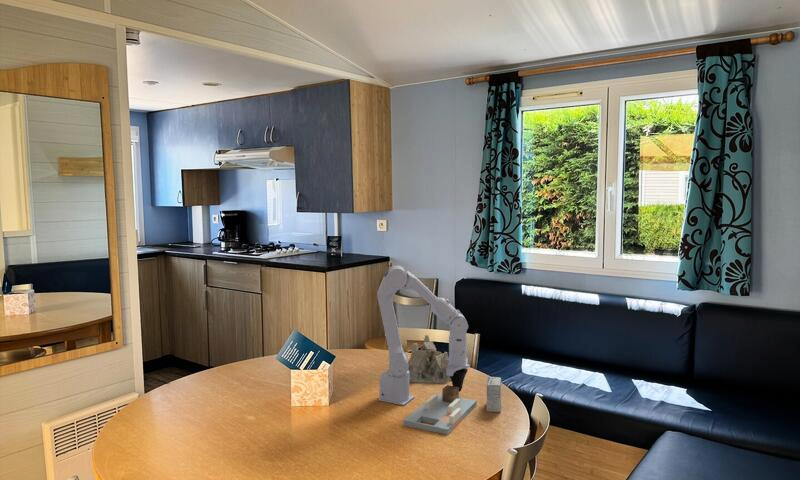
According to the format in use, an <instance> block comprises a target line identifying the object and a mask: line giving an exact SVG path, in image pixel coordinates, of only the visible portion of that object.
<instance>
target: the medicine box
mask: <svg viewBox="0 0 800 480" xmlns="http://www.w3.org/2000/svg"><path fill="white" fill-rule="evenodd" d="M486 382H487V383H486V412H490V413H491V412H492V413H501V412H502V377H499V376H498V377H497V376H488V377H487V381H486Z"/></svg>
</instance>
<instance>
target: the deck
mask: <svg viewBox="0 0 800 480" xmlns="http://www.w3.org/2000/svg"><path fill="white" fill-rule="evenodd" d="M477 401H478V400H476V399H471V398H464V397H460V396H459V399H455V400H454V401H453V402H452V403H449V402H444V401H442V393H438V392H436V393H435V394H433V395H432V396H431V397H429V398H428V399H426V400H425V401H424V403H423V404H421V406H419V407H418V408H417V409H416V410H414V411H413V412H412V413H410V414H409V415H408V416H406V417H405V418H404V419H403V426H404V427H409V428H414V429H419V430H423V431H426V432H427V431H428V432H433V433H438V434H442V435H446V436H447V435H449V434H450V433H452V431H453V430H454V429H455V428H456V427H457V426H458V425H459V424H460V423H461V422H462V421H463V420H464V419H465V418H466V417H467V416H468V414H470V413H471V412H472V411H473V409H475V407H476V406H478V405H477ZM422 422H423V423H422ZM432 424H433V425H432Z"/></svg>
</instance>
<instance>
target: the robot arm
mask: <svg viewBox="0 0 800 480" xmlns="http://www.w3.org/2000/svg"><path fill="white" fill-rule="evenodd" d="M403 287H404V289H406V290H412V291H414V292H415V293H416V294H418V295H419V296H420V297H421V298H422V299H423V300H424V301H426V302H427V303H428V304H429V305H430V311H431V312H432V314H434V315H435V316H436V317H438V318H439V319H440V320H441V321H442V322H443V323H444V324H447V326H448V327H449V335H448V358H449V363H448V369H447V370H446V375H447V376H450V378H451V384H452V385H451V386H455V387H459V393H460V392H462V388H463V384H464V381H465V377H466V376H467V375H466V374H467V373H468V372H469V371H468V370H469V368H470V367H471V364H469V357H467V348H468V347H467V346H468V345H467V343H468V342H467V339H468V338H467V331H468V329H469V324H468V321H467V319H466V318H465V316H464V315H463V313H462V312H461V311H460V310H459V309H456V308H455V307H454V306H453V305H452V304H451V303H450V300H449V299H448V298H444V297H438V296H436V295H435V294H434V292H432V291H431V290H430V289H429V288H428V287H427V286H426V285H425V284H424V283H423V282H422V281H421V280H420V279H419V278H418V277H417V276H416V275H414V274H413V273H411V272H410V271H409V270H406V269H405V267H403V265H400V264H393V265H392V266H390V267H389V268H388V269H387V270H386V272H384V275H383V277H382V280H381V282H380V285H379V288H378V289H377V292H376V293H377V294H376V295H377V301H378V306H379V311H380V315H381V320H382V326H383V330H384V336H385V339H386V343H387V348H388V349H387V351H388V370H385V371H382V373H381V374H380V378H379V398H378V401H380V402H385V403H389V404H395V405H400V406H405V405H406V404H408V403H409V402H410V401H412V400H413V399H414V398H415V396H414V395H412V394H411V395H410V381H409V371H408V368H409V365H408V355H407V353H406V352H405V351H404V348H403V345H402V344H403V343H402V341H401V336H400V332H399V327H398V320H397V316H396V312H395V308H394V302H393V297H394V296H395V294H396V293H397V292H398V291H399V290H400V289H402V288H403Z"/></svg>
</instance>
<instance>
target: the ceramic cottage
mask: <svg viewBox="0 0 800 480" xmlns="http://www.w3.org/2000/svg"><path fill="white" fill-rule="evenodd" d="M411 348H412V349H411V352H410V353H411V354H410V357H409V360H407V362H408V365H409V368H408V371H409V382H412V383H416V384H417V383H422V384H423V383H424V384H425V383H427V384H431V383H432V384H446V383H449V382H450V381H451V378H450V376H447V375H446V370H447V369H448V363H449V354H448V352H447V351H444V353H442V352H441V351H437V348H436V345H435V344H434V342H433V340H430V337H429V335H428V334H425V335H424V338H423V342H422V345H421V347H420V350H419V345H418V343H417V342H416V343H414V342H413V343H412V347H411ZM451 382H452V381H451Z"/></svg>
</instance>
